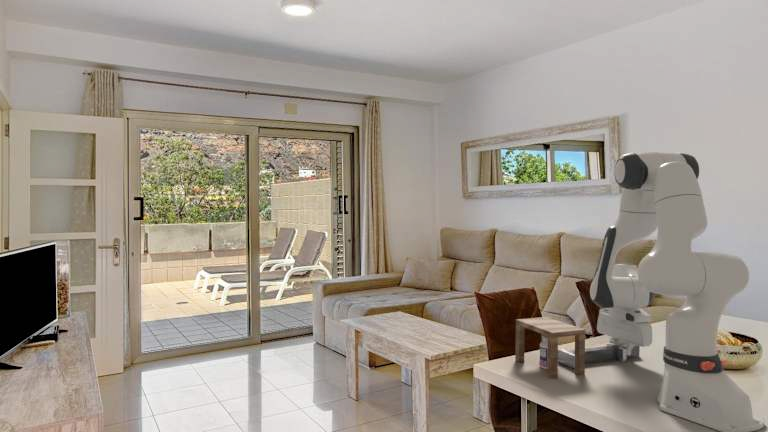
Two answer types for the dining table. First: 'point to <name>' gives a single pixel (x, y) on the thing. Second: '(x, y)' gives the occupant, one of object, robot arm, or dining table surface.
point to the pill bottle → (544, 352)
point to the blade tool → (599, 354)
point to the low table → (551, 341)
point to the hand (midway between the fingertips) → (622, 352)
